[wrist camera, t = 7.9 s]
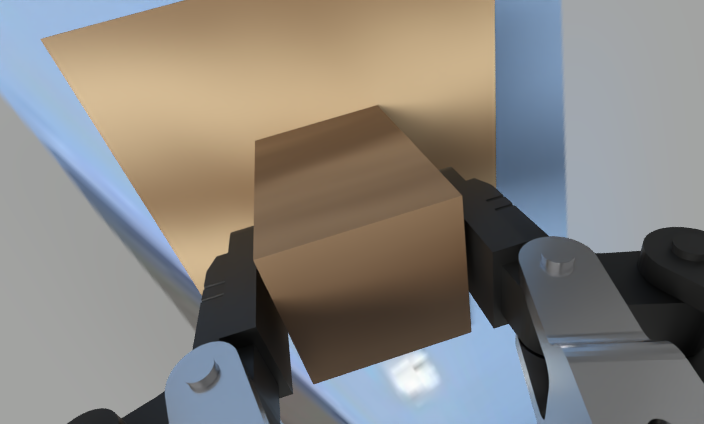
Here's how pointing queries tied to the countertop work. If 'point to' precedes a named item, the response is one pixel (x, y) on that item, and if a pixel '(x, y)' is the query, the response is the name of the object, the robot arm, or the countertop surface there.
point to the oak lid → (307, 152)
